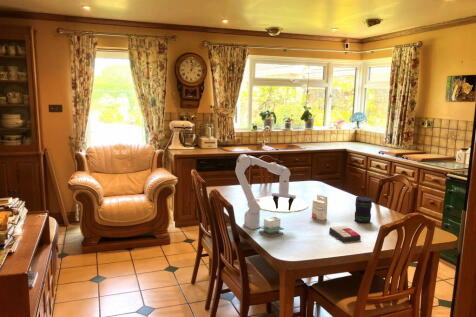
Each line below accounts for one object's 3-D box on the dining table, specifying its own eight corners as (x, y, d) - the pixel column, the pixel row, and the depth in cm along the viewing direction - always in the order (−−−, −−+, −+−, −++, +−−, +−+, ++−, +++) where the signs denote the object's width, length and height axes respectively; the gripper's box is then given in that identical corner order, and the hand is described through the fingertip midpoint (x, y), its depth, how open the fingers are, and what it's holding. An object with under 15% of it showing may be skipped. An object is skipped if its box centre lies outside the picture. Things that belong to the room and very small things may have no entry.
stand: (259, 232, 222) (259, 226, 222) (272, 229, 228) (272, 223, 227) (269, 237, 214) (270, 231, 214) (283, 234, 220) (283, 228, 219)
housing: (262, 227, 220) (262, 219, 219) (275, 224, 226) (276, 216, 225) (267, 230, 216) (268, 221, 215) (281, 227, 221) (281, 218, 221)
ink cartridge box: (311, 217, 251) (312, 195, 249) (315, 215, 255) (316, 194, 252) (322, 220, 245) (323, 198, 243) (326, 218, 249) (328, 196, 246)
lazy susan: (246, 209, 268) (246, 204, 267) (259, 195, 305) (259, 191, 304) (303, 215, 256) (304, 210, 256) (310, 200, 293) (311, 196, 293)
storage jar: (369, 219, 249) (371, 197, 246) (371, 224, 239) (373, 201, 237) (353, 218, 251) (355, 196, 248) (354, 223, 241) (356, 199, 239)
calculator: (343, 236, 209) (329, 226, 222) (343, 244, 209) (328, 233, 223) (361, 234, 212) (345, 224, 226) (360, 242, 213) (345, 231, 227)
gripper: (270, 187, 229) (269, 209, 232) (294, 190, 224) (293, 212, 226) (273, 184, 236) (273, 206, 238) (297, 187, 230) (296, 209, 233)
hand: (283, 209), depth 232 cm, fingers open, 7 cm apart
